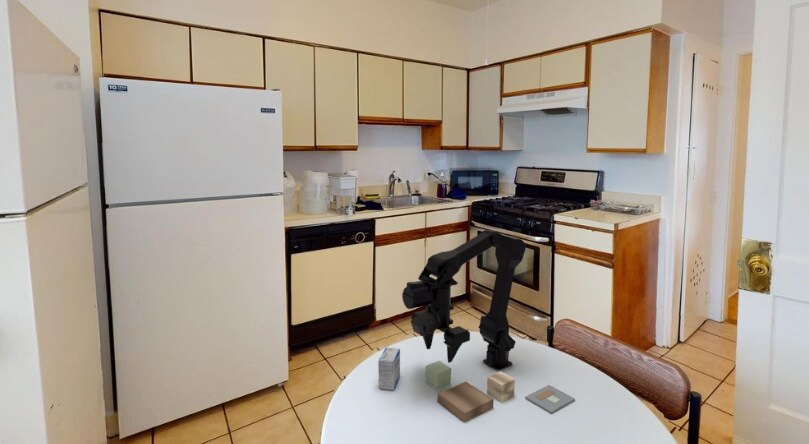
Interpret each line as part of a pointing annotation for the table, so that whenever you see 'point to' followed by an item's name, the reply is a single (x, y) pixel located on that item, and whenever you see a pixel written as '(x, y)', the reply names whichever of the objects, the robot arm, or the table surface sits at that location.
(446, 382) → the sage cube
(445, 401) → the walnut block
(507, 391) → the birch cube
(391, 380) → the medicine box
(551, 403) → the slate card
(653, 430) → the table surface
